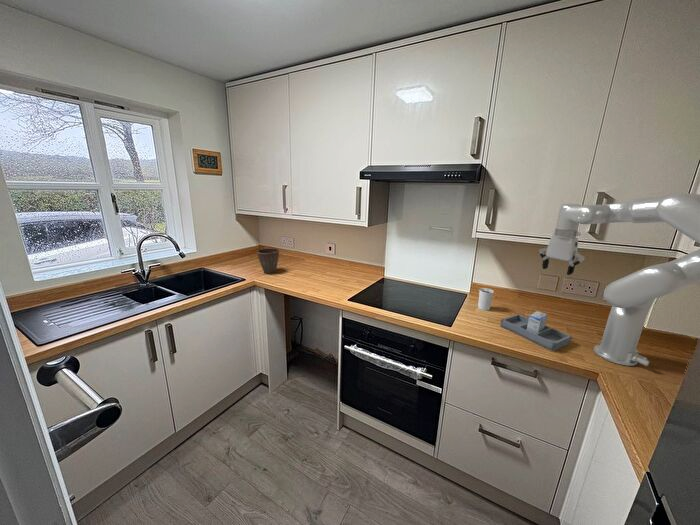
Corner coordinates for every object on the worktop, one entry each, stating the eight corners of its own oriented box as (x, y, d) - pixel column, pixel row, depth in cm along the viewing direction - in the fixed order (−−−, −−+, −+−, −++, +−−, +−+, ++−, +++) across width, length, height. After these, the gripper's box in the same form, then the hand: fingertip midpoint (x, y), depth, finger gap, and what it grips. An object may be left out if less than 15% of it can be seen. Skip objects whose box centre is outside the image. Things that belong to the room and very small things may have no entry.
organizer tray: (569, 343, 118) (571, 336, 117) (553, 351, 112) (554, 343, 111) (516, 320, 137) (518, 313, 136) (500, 326, 131) (501, 319, 130)
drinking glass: (491, 307, 151) (494, 289, 148) (490, 312, 145) (493, 293, 143) (477, 304, 154) (480, 287, 151) (476, 309, 149) (478, 291, 146)
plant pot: (255, 275, 196) (253, 253, 192) (262, 269, 211) (261, 248, 206) (277, 275, 196) (275, 253, 192) (282, 269, 210) (281, 248, 206)
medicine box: (532, 328, 128) (536, 310, 125) (543, 332, 124) (548, 314, 122) (525, 333, 123) (529, 315, 121) (536, 337, 120) (541, 319, 117)
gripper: (593, 236, 116) (583, 275, 121) (547, 229, 130) (540, 265, 135) (585, 237, 112) (575, 278, 117) (539, 231, 126) (531, 267, 131)
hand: (556, 271), depth 126 cm, fingers open, 9 cm apart
